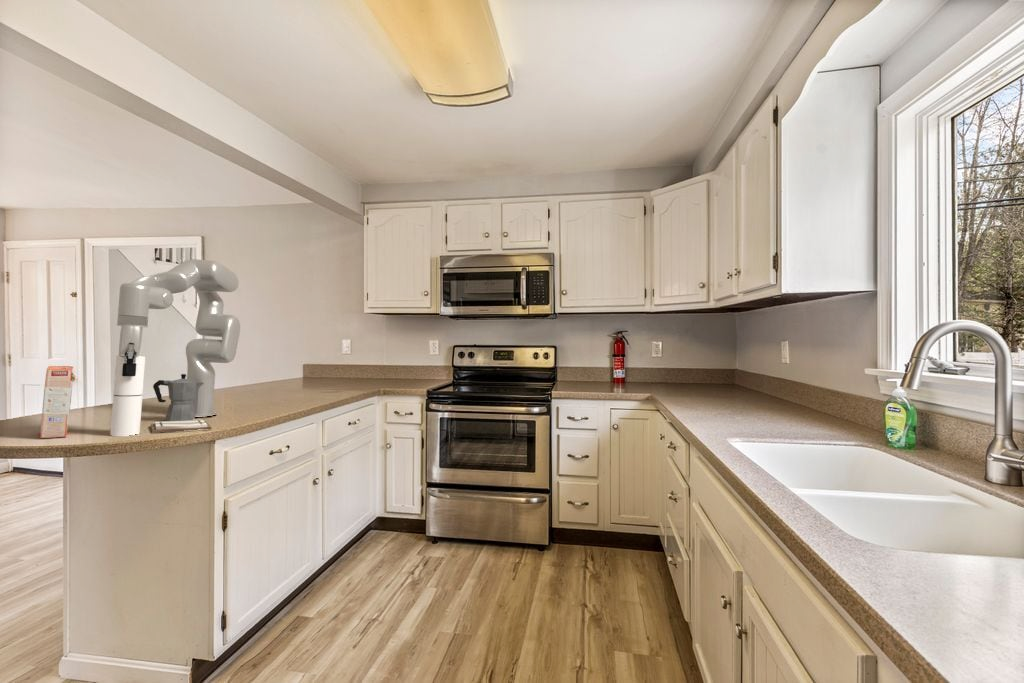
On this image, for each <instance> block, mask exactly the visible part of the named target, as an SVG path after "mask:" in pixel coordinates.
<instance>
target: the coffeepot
mask: <svg viewBox="0 0 1024 683" xmlns="http://www.w3.org/2000/svg"><path fill="white" fill-rule="evenodd" d="M180 377H181V378H178V379H175V380H164V379H163V380H162V379H159V380H157V381H156V382H155V383H154V384H153V385H152V387H153V390H154V394H155V396H156V398H157V402H158V403H166V401H167V400H166V399H163V398H162V394H161V388H160V386H166V387H167V391H168V398H169V400H170V404H169V405H168V408H167V413H166V415H165V419H164V421H183V420H193V419H195V420H196V418H195V414H194V407H193V404H192V400H193V399H194V397H195V393H196V392H197V390H198V389H199V388H200V386H201V385H202V384H204V383H203V382H199V381H193V380H188V379H187V373H186V374H185V373H182V374H180Z"/></svg>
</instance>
